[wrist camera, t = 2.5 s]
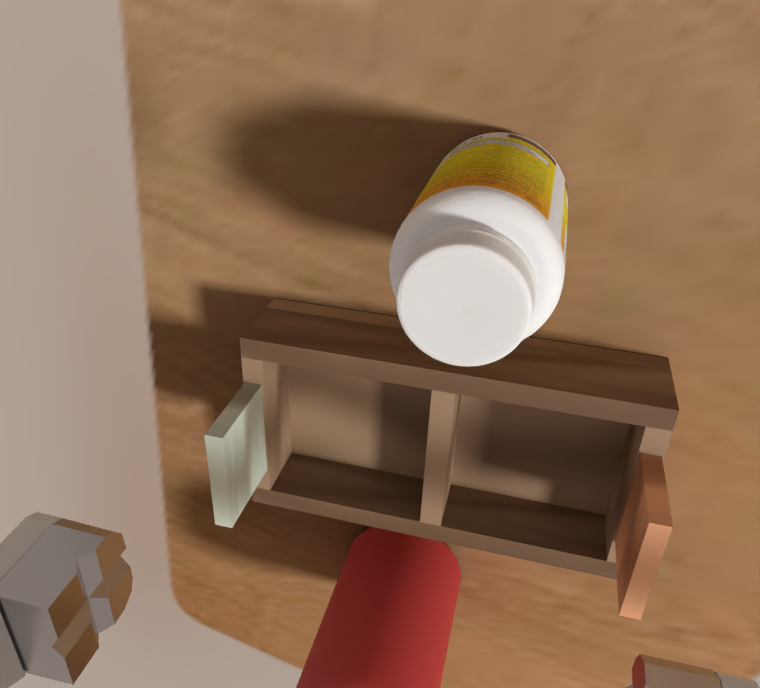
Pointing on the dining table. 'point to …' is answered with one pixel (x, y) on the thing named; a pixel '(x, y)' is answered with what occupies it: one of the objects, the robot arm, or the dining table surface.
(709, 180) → the dining table surface
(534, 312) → the supplement bottle
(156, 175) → the dining table surface
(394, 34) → the dining table surface
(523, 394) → the wooden compartment tray
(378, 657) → the beer can
